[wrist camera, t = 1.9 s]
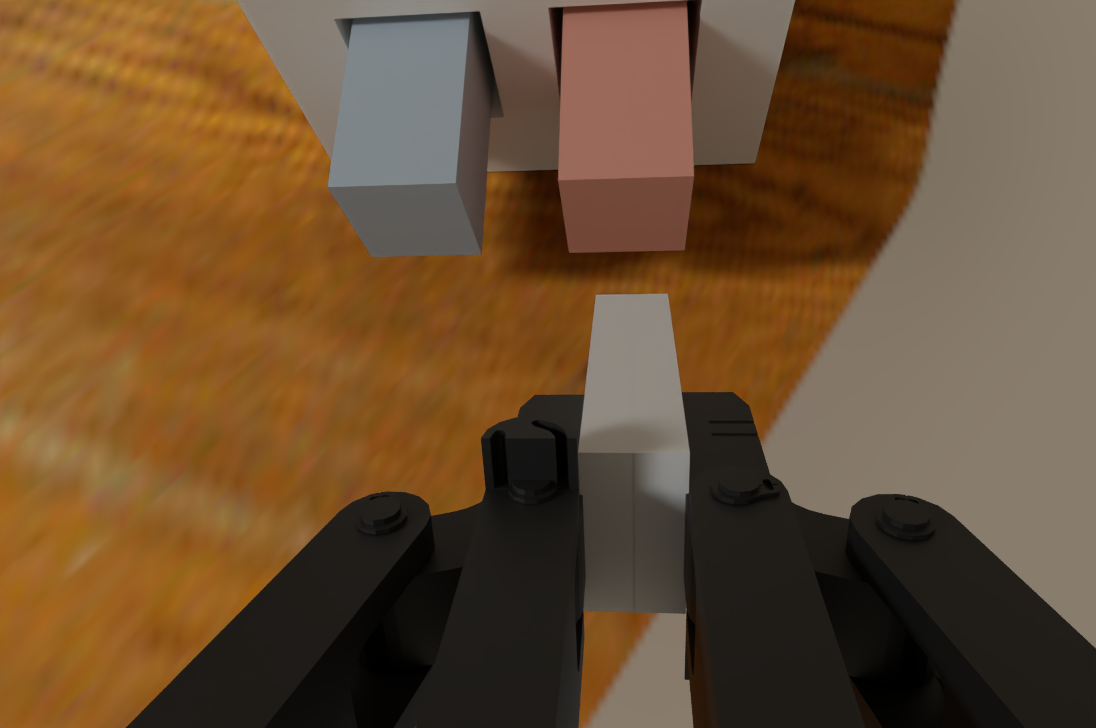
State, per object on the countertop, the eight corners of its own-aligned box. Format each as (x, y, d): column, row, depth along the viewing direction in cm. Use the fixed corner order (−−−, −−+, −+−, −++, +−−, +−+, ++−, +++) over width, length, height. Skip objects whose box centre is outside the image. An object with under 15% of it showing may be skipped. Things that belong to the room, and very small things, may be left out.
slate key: (408, -42, 38) (376, -141, 33) (501, -47, 37) (483, -149, 33) (371, 256, 32) (327, 186, 27) (481, 254, 32) (455, 182, 27)
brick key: (575, -52, 37) (567, -155, 32) (673, -58, 36) (679, -163, 32) (569, 252, 31) (558, 180, 27) (684, 250, 31) (694, 176, 26)
